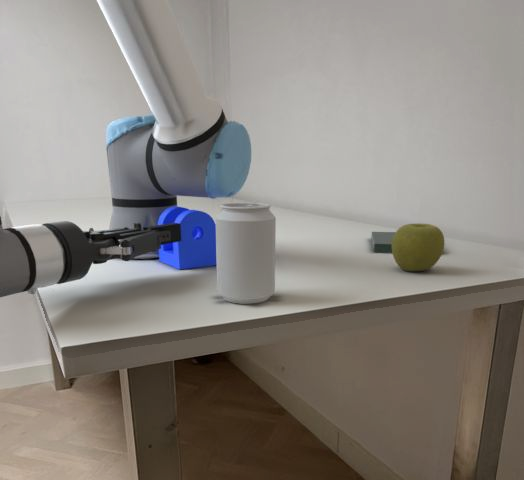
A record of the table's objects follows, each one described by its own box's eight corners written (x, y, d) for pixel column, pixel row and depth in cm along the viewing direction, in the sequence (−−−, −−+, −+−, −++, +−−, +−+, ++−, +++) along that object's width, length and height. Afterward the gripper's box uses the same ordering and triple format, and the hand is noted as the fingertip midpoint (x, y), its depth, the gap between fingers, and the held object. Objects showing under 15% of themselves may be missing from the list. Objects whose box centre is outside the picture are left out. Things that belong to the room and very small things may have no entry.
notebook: (373, 252, 104) (374, 243, 103) (371, 239, 119) (371, 231, 118) (439, 254, 102) (440, 245, 102) (428, 240, 117) (429, 232, 116)
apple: (445, 275, 85) (450, 228, 82) (391, 274, 86) (395, 227, 83) (436, 266, 92) (441, 222, 89) (387, 264, 93) (391, 221, 90)
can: (218, 291, 76) (215, 200, 71) (272, 290, 76) (273, 200, 72) (216, 305, 69) (213, 206, 64) (276, 305, 69) (278, 206, 65)
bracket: (179, 269, 89) (176, 212, 86) (159, 261, 95) (156, 207, 92) (272, 258, 98) (273, 206, 95) (248, 251, 105) (248, 202, 101)
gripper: (20, 278, 73) (148, 251, 91) (86, 291, 66) (210, 260, 85) (11, 220, 70) (145, 204, 89) (79, 228, 64) (208, 209, 82)
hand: (177, 231), depth 87 cm, fingers closed
